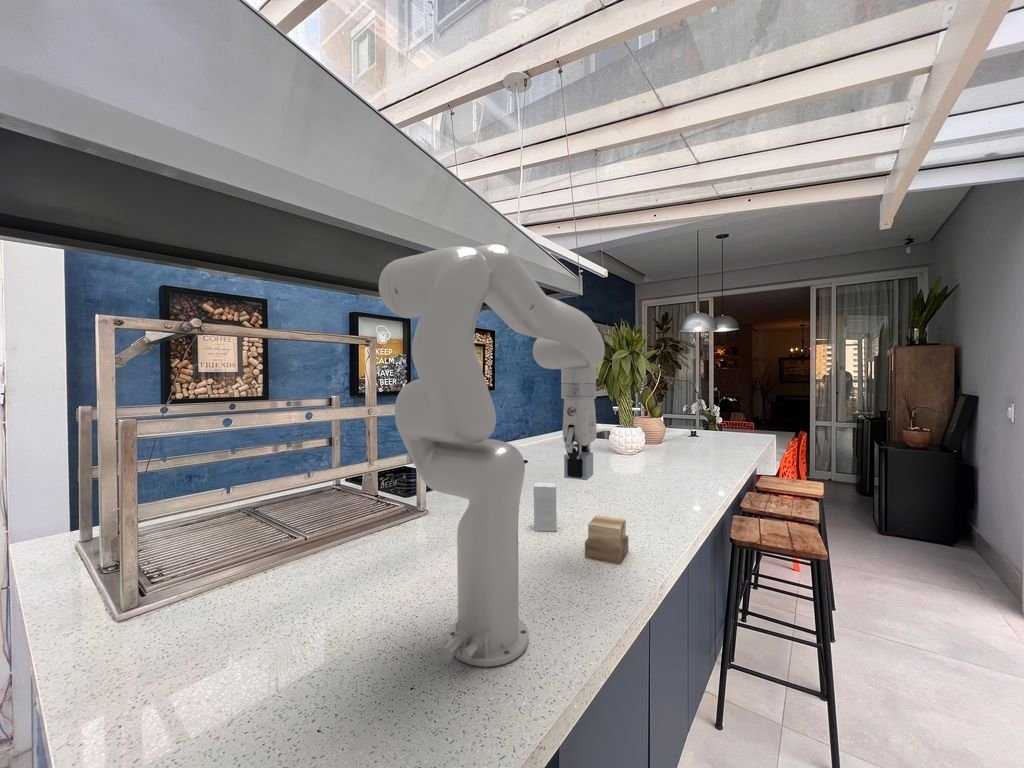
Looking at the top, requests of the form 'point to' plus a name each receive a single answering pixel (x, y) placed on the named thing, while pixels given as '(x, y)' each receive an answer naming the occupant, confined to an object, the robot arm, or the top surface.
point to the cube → (586, 466)
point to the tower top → (607, 530)
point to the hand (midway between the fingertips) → (579, 472)
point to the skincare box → (545, 507)
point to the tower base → (606, 551)
